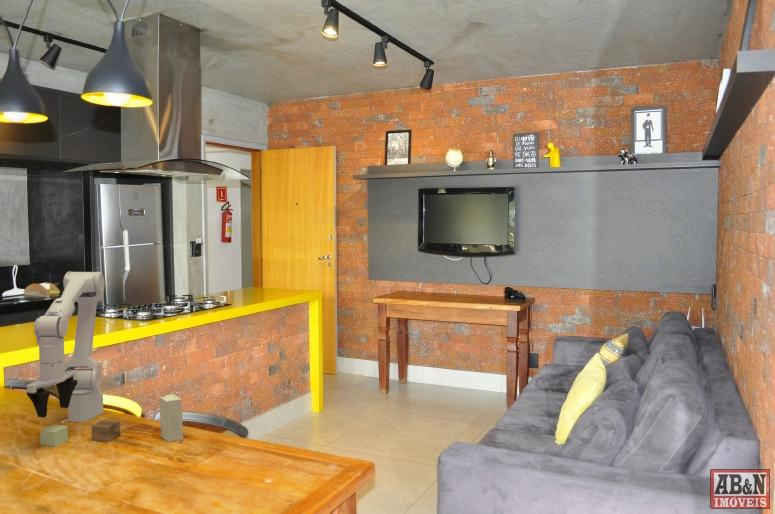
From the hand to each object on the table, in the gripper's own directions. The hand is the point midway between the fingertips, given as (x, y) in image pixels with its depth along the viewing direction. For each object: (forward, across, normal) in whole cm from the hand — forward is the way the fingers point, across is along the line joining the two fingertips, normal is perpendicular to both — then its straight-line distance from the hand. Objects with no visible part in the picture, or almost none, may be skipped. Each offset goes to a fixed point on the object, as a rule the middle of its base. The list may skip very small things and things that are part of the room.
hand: (53, 412), depth 160 cm
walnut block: (+8, -7, +11) cm, 15 cm away
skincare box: (+10, -12, +27) cm, 31 cm away
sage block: (+9, 0, 0) cm, 9 cm away
